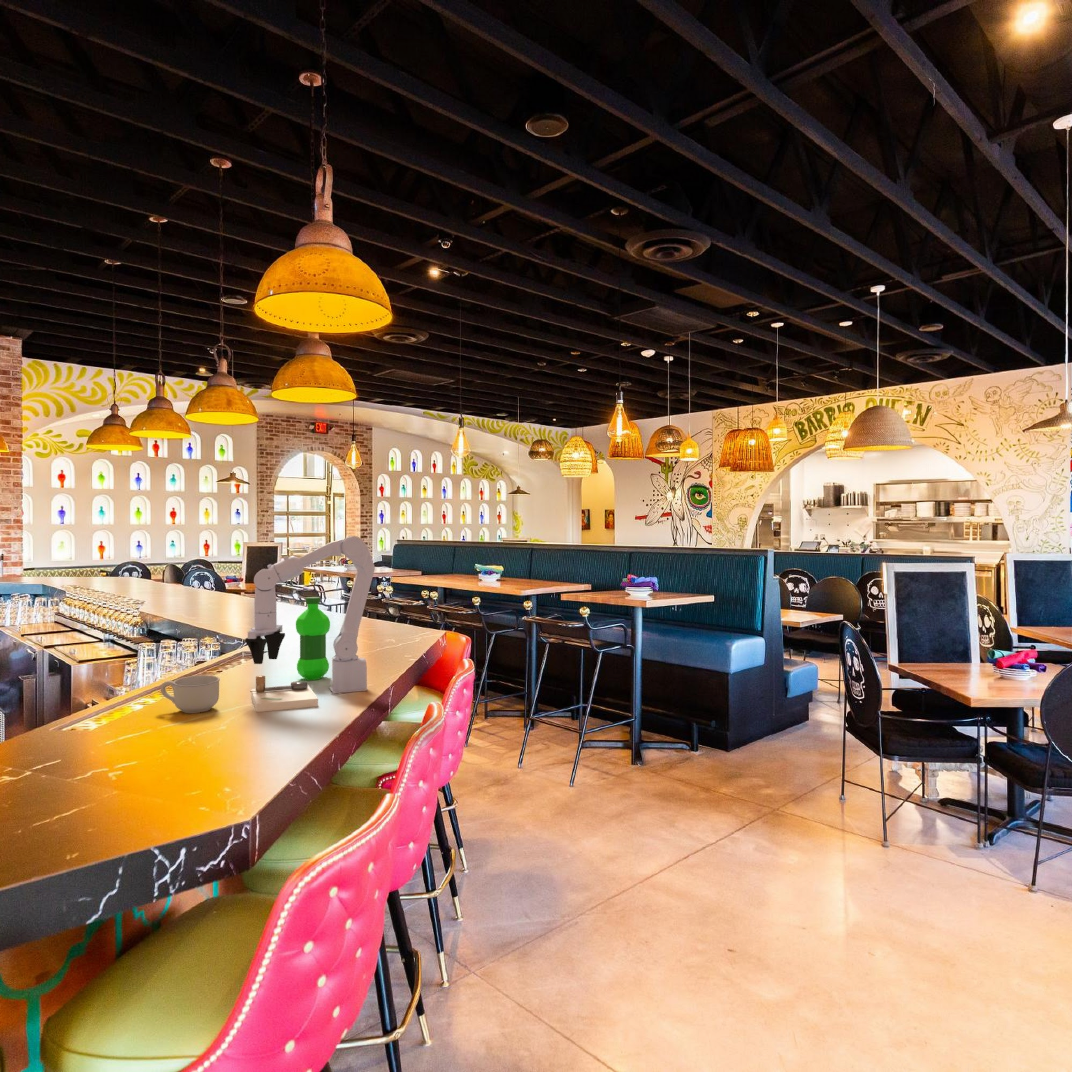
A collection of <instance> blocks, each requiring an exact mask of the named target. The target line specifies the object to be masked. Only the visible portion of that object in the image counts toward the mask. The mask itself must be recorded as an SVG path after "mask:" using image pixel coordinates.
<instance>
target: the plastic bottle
mask: <svg viewBox="0 0 1072 1072" xmlns="http://www.w3.org/2000/svg"><path fill="white" fill-rule="evenodd" d="M305 604H306V605H307V608H306V609H305V610H304V611H303V612H302V613H301V614H300V615H299V616H298V617H297V619H296V620H295V630H296V633H297V634H298V635H299V658H298V661H297V663H296V670H297V672H298V674H299V676H301V677H302V678H303V679H304V680H305V681H306V680H307V681H313V680H320V679H322V677H324V676H325V675H326V674H327V673H328V671H329V668H330V663H329V659H327V653H326V652H327V645H326V644H327V637H326V636H327V634H328V633H329V631H330V628H331V621H330V619H329V616H328V615H326V613H324V611H322V610H321V609H320V608H319V604H321V598H320V597H319V596H312V597H311V596H310V597H309V596H307V597H305Z"/></svg>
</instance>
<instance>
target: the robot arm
mask: <svg viewBox="0 0 1072 1072" xmlns="http://www.w3.org/2000/svg"><path fill="white" fill-rule="evenodd" d="M342 554H343V555H344V556H345V557H346V558H347V559H349V560H350V561H351V563H352V565H353V566H354V569H356V574H355V579H354V581H353V582H354V583H353V586H352V589H351V592H350V597H349V601H348V604H347V608H346V610H345V615H344V619H343V623H342V625H341V628H340V631H339V634H338V635H337V636H336V637H335V638H334V641H333V649H334V653H335V655H334V656H333V657H332V658H331V659H332V660H331V661H332V665H331V666H332V669H331V672H332V675H331V676H332V680H331V681H332V686H329V687H328V688H329V690H330V691H331V692H332V693H333V694H341V693H343V694H344V693H351V692H352V693H353V692H363V691H364V692H366V691H368V670H367V669H368V666H367V661H366V658H365V657H362V658H361V657H359V655H357V653H358V648H359V647H358V643H357V642H358V636H359V630H360V629H359V628H360V624H361V622H362V617H363V614H364V611H365V610H364V609H365V607H366V603H367V600H368V595H369V591H370V588H371V585H372V581H373V578H374V577H373V576H374V573H375V569H376V567H375V564H374V561H373V558H372V555H371V553H370V549H369V546H368V545H367V544H366V543H365V542H364V540H363V539H362V538H360V537H358V536H355V535H354V536H352V535H350V536H346V537H345V538H344V539H343V538H341V539H338V540H337V539H336V540H334V541H331V542H328V543H326V544H325V545H322V546H320V547H318V548H316V549H313V550H312V551H310V552H308V553H306V554H304V555H302V556H300V557H299V556H298V557H297V556H295V555H291V556H289V555H286V556H284V557H283V559H282V560H280V561H278V562H275V563H274V564H272V563H269V564H268V565H267V568H262V569H261V570H258V572H256V574H255V575H254V578H253V584H254V585H255V589H254V594H255V596H254V600H253V601H254V627H252V628H250V630H248V631H247V637H246V638H245V640H244V643H246V645H247V646H248V649H249V651H250V653H251V657H252V662H253V664H254V665H262V664H263V663H264V654H265V648H266V647H267V656H268V659H269V660H277V659H278V656H279V652H280V647H281V645H282V643H283V640H284V639H285V637H286V633H285V632H283V624H277V595H276V584H284V583H285V582H288V581H290V580H292V579H294V578H296V577H298V576H300V575H302V574H303V572H304V569H305V568H306V567H308V566H310V565H312V564H315V563H317V562H320V561H321V560H324V559H327V558H329V557H342ZM263 637H264V638H263Z"/></svg>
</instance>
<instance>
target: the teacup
mask: <svg viewBox="0 0 1072 1072" xmlns="http://www.w3.org/2000/svg"><path fill="white" fill-rule="evenodd" d="M220 679H221V678H220V677H218V676H216V675H209V674H207V675H206V674H197V675H189V676H185V677H180V678H177V679H175V680H167V681H164V682H162V684H161V685H160V693H161V695H162V696H163V697H164V698H166V699H167V700H170V701H171V702H172V704H174V705H175V707H176V708H177V709H178V710H180V711H181V712H183V713H184V714H198V713H200V712H201V713H204V712H207V711H210V710H212V708H214V706H216V704H217V703H218V702H219V699H220V698H219V697H220ZM166 686H171V688H172V691H173V695H171V694H170V693H168V692H167V690H166ZM201 713H200V714H201Z"/></svg>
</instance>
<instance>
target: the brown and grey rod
mask: <svg viewBox="0 0 1072 1072" xmlns="http://www.w3.org/2000/svg"><path fill="white" fill-rule="evenodd" d="M308 685H309V683H308V680H307V681H306V680H296V681H292V682H290V685H280V686H269V687H266V676H265V675H256V676H255V689H256V690H255V691H251V690H249V691H250V693H251V692H265V691H276V690H288V689H293V690H302V689H306V688H308Z"/></svg>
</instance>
